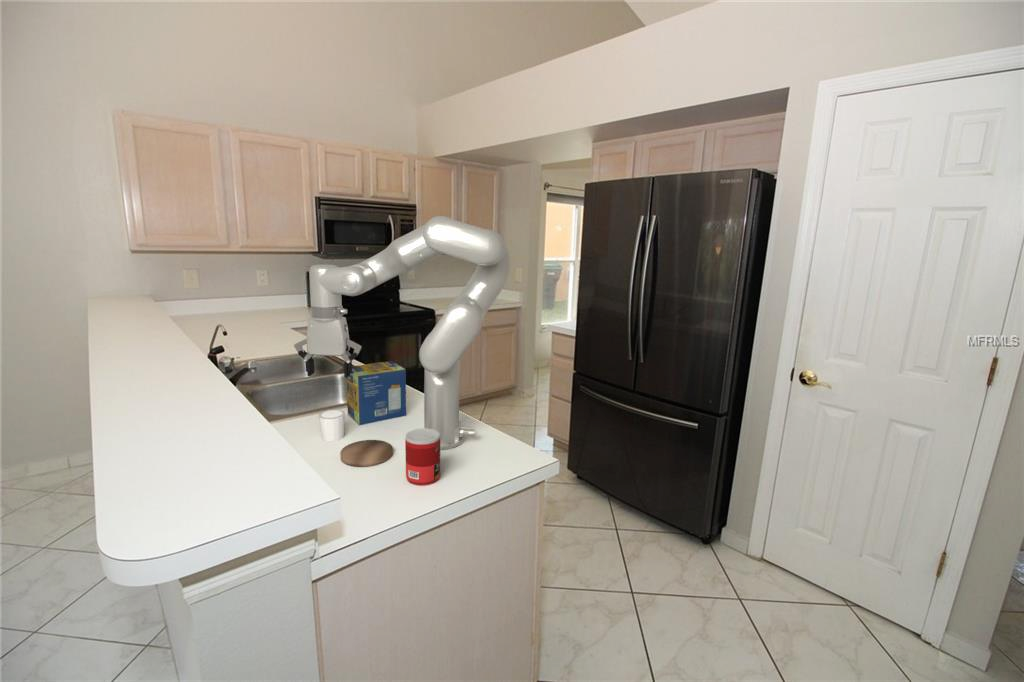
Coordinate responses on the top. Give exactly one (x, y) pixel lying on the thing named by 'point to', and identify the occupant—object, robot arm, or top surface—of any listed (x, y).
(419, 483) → the canned food
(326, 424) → the white cup
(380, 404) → the protein box
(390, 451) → the brown round coaster
